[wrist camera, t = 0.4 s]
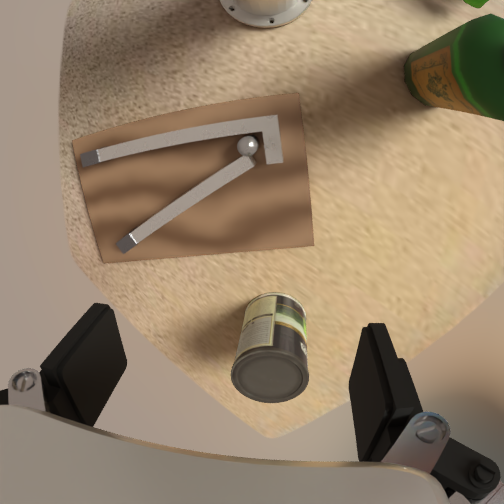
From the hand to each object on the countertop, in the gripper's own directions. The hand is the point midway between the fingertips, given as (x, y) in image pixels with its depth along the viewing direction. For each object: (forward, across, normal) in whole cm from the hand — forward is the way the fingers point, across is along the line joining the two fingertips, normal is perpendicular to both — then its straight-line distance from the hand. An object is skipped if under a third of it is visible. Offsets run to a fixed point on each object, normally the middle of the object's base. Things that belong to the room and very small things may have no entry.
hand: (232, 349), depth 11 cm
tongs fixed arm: (+34, +13, -4) cm, 36 cm away
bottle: (+35, -22, -16) cm, 44 cm away
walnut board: (+35, +12, +1) cm, 37 cm away
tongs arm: (+33, +12, +2) cm, 36 cm away
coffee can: (+36, -1, +23) cm, 43 cm away
